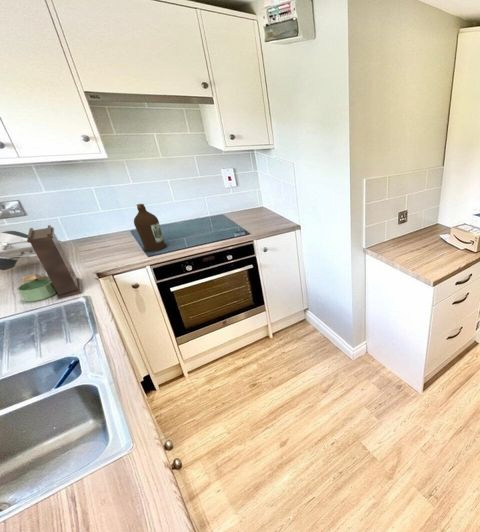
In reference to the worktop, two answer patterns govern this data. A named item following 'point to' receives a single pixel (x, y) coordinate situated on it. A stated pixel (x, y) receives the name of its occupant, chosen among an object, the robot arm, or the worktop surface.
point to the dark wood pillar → (54, 261)
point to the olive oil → (149, 229)
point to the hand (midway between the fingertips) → (21, 241)
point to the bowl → (37, 289)
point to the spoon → (33, 277)
